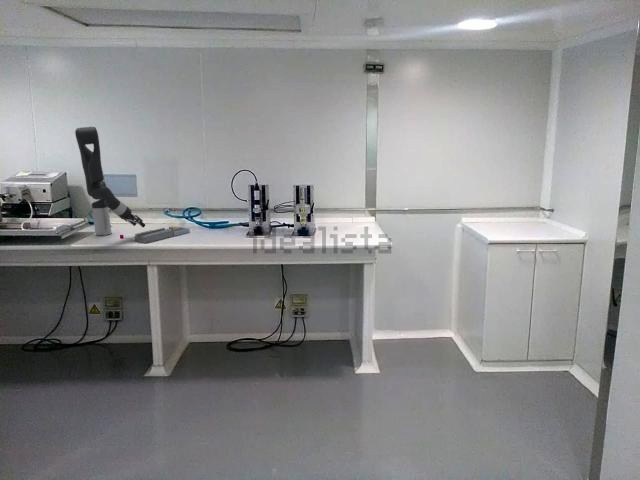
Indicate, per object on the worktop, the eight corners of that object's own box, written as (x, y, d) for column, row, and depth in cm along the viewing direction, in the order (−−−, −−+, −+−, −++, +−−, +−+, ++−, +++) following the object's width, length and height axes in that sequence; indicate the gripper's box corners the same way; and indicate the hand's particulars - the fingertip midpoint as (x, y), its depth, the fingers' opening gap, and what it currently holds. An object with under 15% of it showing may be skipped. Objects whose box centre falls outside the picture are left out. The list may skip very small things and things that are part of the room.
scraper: (139, 234, 296) (154, 230, 305) (135, 233, 299) (150, 229, 308) (139, 238, 297) (155, 234, 306) (135, 237, 299) (150, 233, 308)
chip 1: (172, 227, 303) (176, 226, 305) (168, 227, 305) (172, 226, 307) (173, 234, 304) (177, 233, 306) (169, 233, 306) (173, 232, 308)
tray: (174, 236, 300) (174, 232, 300) (162, 234, 306) (162, 230, 306) (189, 232, 310) (189, 228, 309) (178, 230, 316) (177, 226, 315)
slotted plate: (145, 243, 284) (145, 236, 283) (135, 241, 290) (134, 234, 289) (173, 236, 300) (172, 229, 299) (162, 234, 306) (162, 227, 305)
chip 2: (181, 227, 309) (182, 231, 309) (177, 226, 311) (178, 231, 312) (176, 228, 305) (177, 233, 306) (172, 227, 308) (173, 232, 308)
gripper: (132, 205, 284) (150, 221, 296) (117, 203, 292) (135, 219, 304) (125, 216, 281) (144, 231, 293) (110, 213, 289) (129, 229, 301)
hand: (139, 225), depth 298 cm, fingers open, 8 cm apart
